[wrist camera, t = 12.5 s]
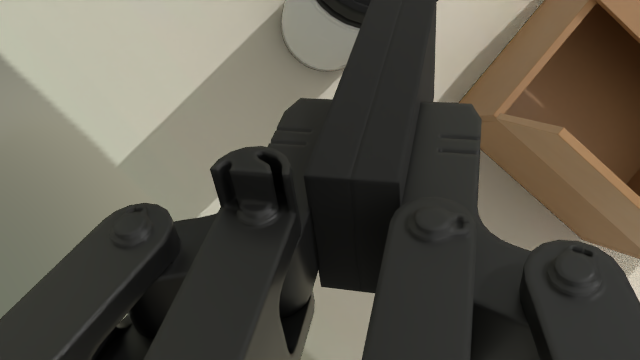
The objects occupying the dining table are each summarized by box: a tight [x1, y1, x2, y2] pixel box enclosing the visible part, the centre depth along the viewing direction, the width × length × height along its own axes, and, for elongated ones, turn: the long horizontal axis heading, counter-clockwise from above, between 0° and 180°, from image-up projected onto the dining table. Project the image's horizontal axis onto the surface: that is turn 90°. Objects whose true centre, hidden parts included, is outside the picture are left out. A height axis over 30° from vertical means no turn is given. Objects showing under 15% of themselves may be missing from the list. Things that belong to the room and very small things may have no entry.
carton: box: [459, 0, 640, 259], centre depth 38 cm, size 17×14×9 cm
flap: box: [496, 113, 640, 248], centre depth 30 cm, size 8×14×1 cm
